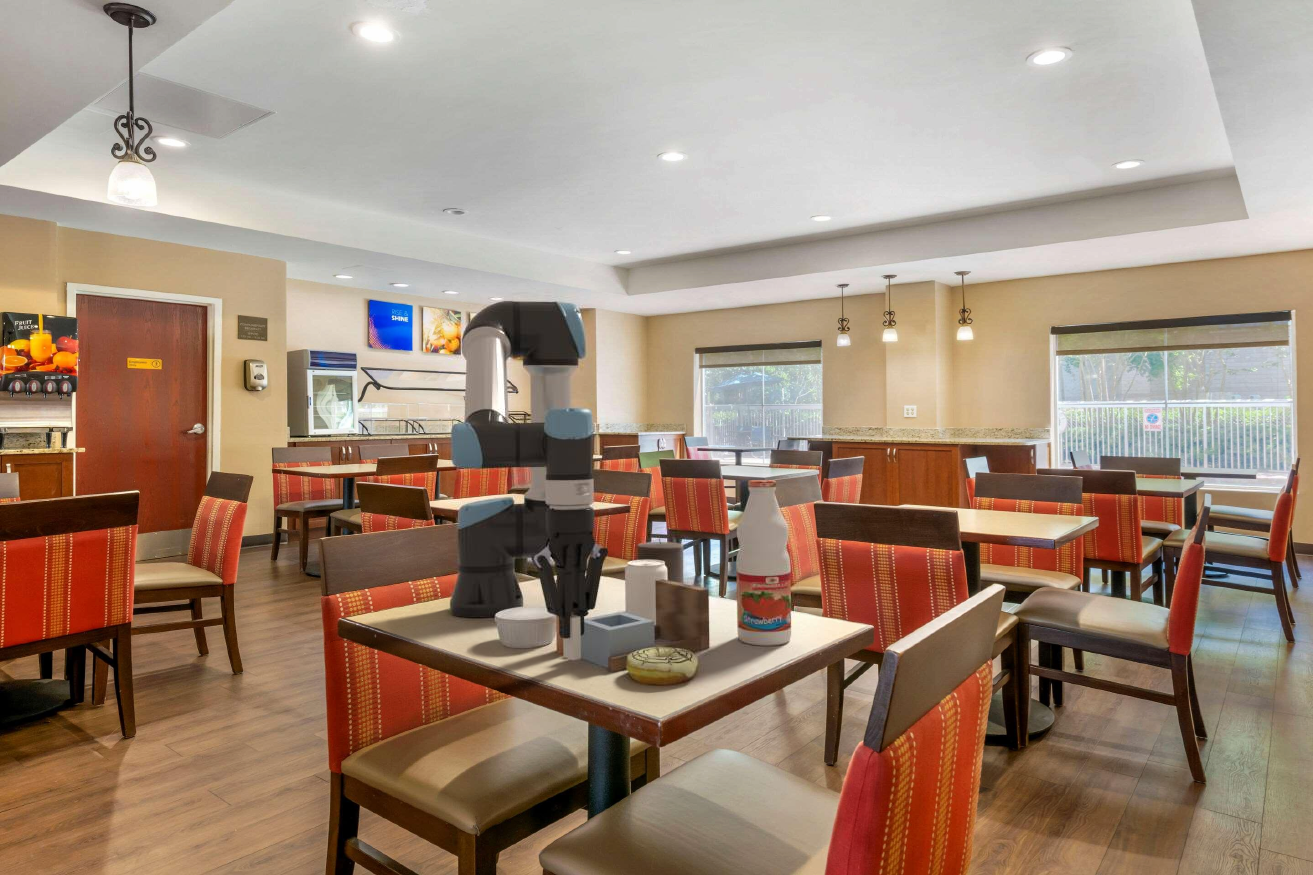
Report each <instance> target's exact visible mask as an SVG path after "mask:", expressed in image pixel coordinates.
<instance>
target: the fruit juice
mask: <svg viewBox="0 0 1313 875" xmlns="http://www.w3.org/2000/svg"><path fill="white" fill-rule="evenodd" d="M747 488H748V491H749V495H748V499H747V502H746V505H745V508H744V510H743V514H742V516H741V518H740V520H739V521H738V523H737V526H736V537H737V541H738V543H739V549H738V550H739V551H738V552H737V555H736V565H735V566H736V567H735V568H736V616H737V617H736V619H737V620H736V623H737V625H736V626H737V629H736V630H737V632H736V633H737V638H738V640H739V641H741V642H742V643H745V644H747V645H752V646H754V645H755V646H763V647H767V646H779V645H783V644H787V643H788V642H790V641H791V638H792V602H791V601H792V600H791V599H792V597H791V594H792V593H791V589H792V588H791V587H792V586H791V585H792V584H791V583H792V582H791V559H790V555H789V552H788V549H787V545H788V540H789V537H790V530H789V525H788V522H787V521H786V519H785V517H784V515H783V514H782V510H781V508H780V506H779V502H778V500H777V497H776V494H775V493H776V492H775V491H777V481H776V480H773V479H752V480H748V482H747Z"/></svg>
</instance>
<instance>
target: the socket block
mask: <svg viewBox="0 0 1313 875" xmlns="http://www.w3.org/2000/svg"><path fill="white" fill-rule="evenodd" d="M655 640H656V638H655V633H654V621H653V620H649V619H646V618H642V617H639V616H635V615H632V614H628V613H626V611H625V612H624V611H619V612H618V611H617V612H612V613H607V614H603V615H602V614H601V615H597V616H592V617H591V616H590V617H587V618H585V617H584V635H581V659H582V660H585V661H587V662H590V663H593V664H596V665H598V666H601V667H604V668H605V669H608V657H612V656H616V655H620V654H625V653H629V652H633V651H637V650H641V649H645V648H650V647H655V646H656V644H655Z"/></svg>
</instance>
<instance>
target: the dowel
mask: <svg viewBox="0 0 1313 875" xmlns="http://www.w3.org/2000/svg"><path fill="white" fill-rule="evenodd" d="M555 583H556V587H557V579H555ZM572 614H573V612H572ZM555 637H556V640H555V641H556V653H557V654H561V655H564V652H563V638H562V637H560V635H559V617H558V616H557V615H556V635H555Z"/></svg>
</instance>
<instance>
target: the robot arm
mask: <svg viewBox="0 0 1313 875" xmlns="http://www.w3.org/2000/svg"><path fill="white" fill-rule="evenodd" d="M580 310H581V309H580V308H579V307H578V306H577V305H576V304H574V303H570V302H563V301H520V300H519V301H517V300H516V301H515V300H514V301H513V300H501V301H497V302H495V303H492V304H489V305H488V306H486V307H484V308H483V309H481V310H480V311H478V313H476V314H475V315H474V316H473V317H472V318H471V319H470V321H469V323H468V324H467V325H466V327H465V329H464V330H463V334H462V338H461V353H462V356H463V357H464V359H465V360H466V365H465V366H466V367H465V389H464V390H465V391H464V392H465V393H464V395H465V396H464V422H462V423H461V422H460V423H455V424H453V425H452V427H451V428H450V429H451V430H450V433H451V434H450V448H451V449H450V452H451V453H450V455H451V462H452V465H453V466H454V467H456V468H459V469H475V470H482V469H483V470H484V469H507V468H510V469H511V468H513V469H514V468H530V473H531V474H530V477H531V478H530V481H531V482H530V483H531V485H530V488H529V489H528V490H527V491H526V492H525V493H524V495H523V497H524V498H523V499H524V500H523V501H524V502H523V503H515V500H514V498H513V497H511V496H506V497H505V496H504V497H496V498H495V497H494V498H489V499H482V500H477V501H473V502H469V503H465V504H463V505H461V507H459V509H458V512H457V526H456V530H457V578H456V581H455V585H454V587H453V591H452V594H451V596H450V601H449V612H451V613H452V614H451V613H450V614H451V615H453V614H454V615H453V616H456V615H457V617H461V616H465V617H464V618H493V617H494V618H495V614H496V613H498V612H500V611H503V610H506V609H511V608H517V607H524V596H523V592H522V590H521V588H520V583H519V581H518V578H517V575H516V571H515V559H531V561H532V563H533V564H534V566H535V567H536V569H537V572H538V577H539V581H540V582H539V583H540V586H541V590H542V595H543V599H544V602H545V607H546V608H547V611H548V613H551V614H554V615H557V616H558V617H559V635H560V637H562V638H563V652H564V654H563V657H564V658H566V659H569V660H571V661H577V660H581V659H582V658H581V635H584V619H585V617H587V616H588V615H589V611H590V610H594V609H595V608H596V606H597V599H598V592H599V588H600V582H601V577H602V570H603V565H604V562H605V560H606V558H607V556H608V553H609V550H608V548H607V547H602V546H600V545H599V544H598V543H596V538H595V536H594V530H595V509H594V508H593V507H591V505H592V504H594V503H595V496H594V495H595V494H594V492H595V490H594V488H595V486H594V481H595V480H594V433H595V427H594V422H593V419H594V418H593V413H592V410H590V409H589V408H585V407H572V375H573V373H574V372H575V371H576V370H577V369H578V368H579V359H580V360H582V359H584V358H585V357H586V353H587V352H586V351H587V350H586V349H587V348H586V346H587V345H586V344H587V343H586V334H585V327H584V320H583V317H582V313H581V311H580ZM509 358H517V359H518V358H519V359H522V367H523V368H524V369H525V371H526V372H527V373H528V374H529V376H530V378H529V379H530V381H529V383H530V386H529V387H530V388H529V389H530V390H529V392H530V422H510V421H509V420H510V419H509V401H508V400H509V396H508V395H509V394H508V392H509V391H508V373H507V372H508V371H507V370H508V369H507V368H508V367H507V361H508V360H509ZM552 560H553V562H554V570H555V573H556V578H555V575H554V570H553V567H552V564H551V563H552ZM556 580H557V587H556ZM572 612H573V614H572Z"/></svg>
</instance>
